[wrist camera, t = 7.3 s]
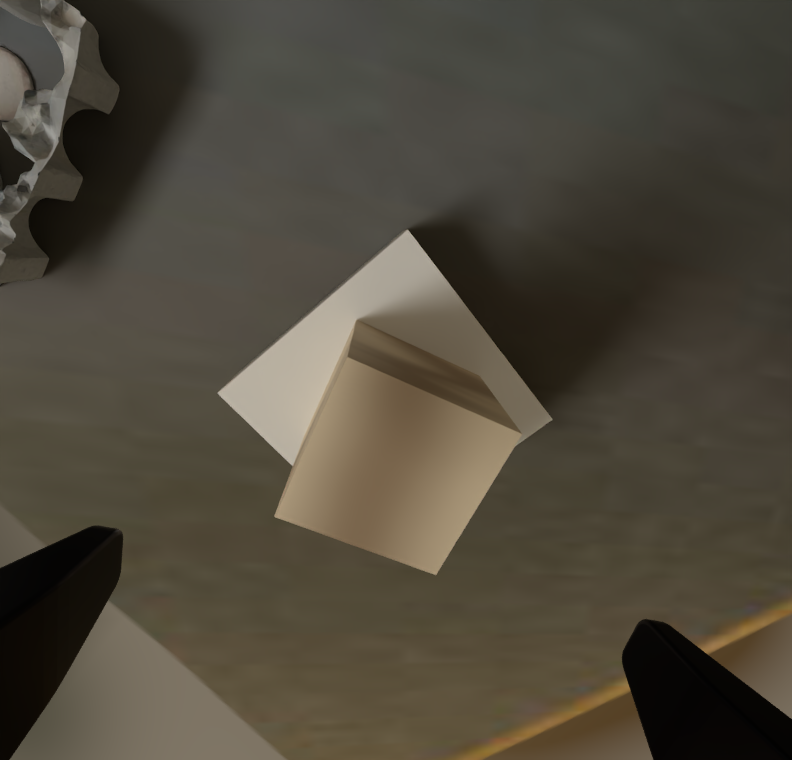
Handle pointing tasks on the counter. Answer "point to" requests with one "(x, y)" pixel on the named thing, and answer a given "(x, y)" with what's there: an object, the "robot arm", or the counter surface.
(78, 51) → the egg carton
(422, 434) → the cube
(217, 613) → the counter surface
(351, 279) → the base
